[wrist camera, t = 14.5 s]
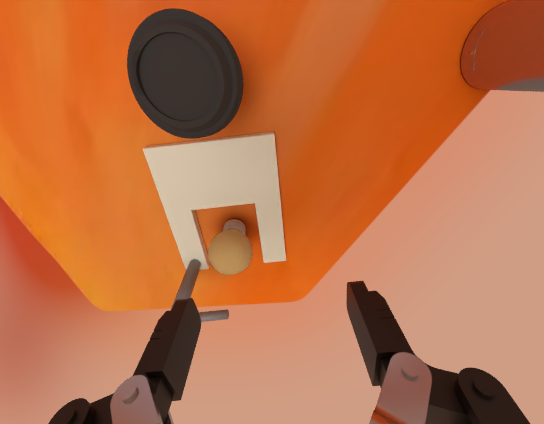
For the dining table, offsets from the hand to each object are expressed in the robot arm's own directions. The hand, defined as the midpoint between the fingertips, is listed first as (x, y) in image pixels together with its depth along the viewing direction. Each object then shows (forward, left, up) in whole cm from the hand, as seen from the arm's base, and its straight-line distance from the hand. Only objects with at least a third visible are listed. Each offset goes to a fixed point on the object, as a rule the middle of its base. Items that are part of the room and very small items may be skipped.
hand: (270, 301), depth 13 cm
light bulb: (+6, +11, -27) cm, 30 cm away
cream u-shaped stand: (+7, +7, -26) cm, 28 cm away
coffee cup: (+5, -11, -27) cm, 29 cm away
